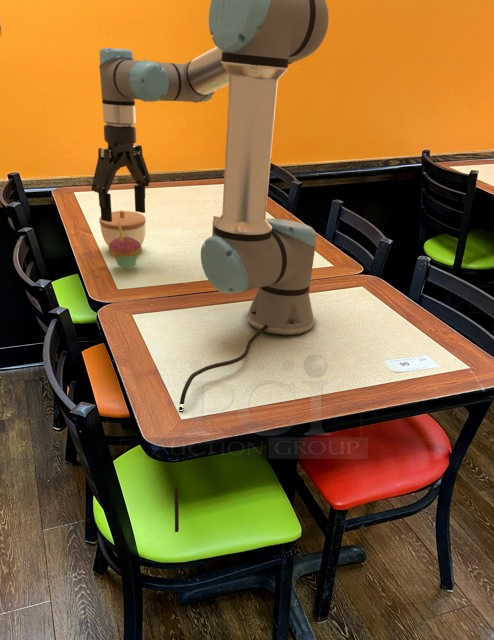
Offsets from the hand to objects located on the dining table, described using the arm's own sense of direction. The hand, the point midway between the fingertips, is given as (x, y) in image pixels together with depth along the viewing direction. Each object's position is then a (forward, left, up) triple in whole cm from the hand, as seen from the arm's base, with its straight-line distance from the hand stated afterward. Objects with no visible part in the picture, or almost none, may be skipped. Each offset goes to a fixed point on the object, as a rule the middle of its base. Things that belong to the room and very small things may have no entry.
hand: (124, 216), depth 146 cm
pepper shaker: (+32, -10, -13) cm, 36 cm away
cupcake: (+1, 0, -13) cm, 13 cm away
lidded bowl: (+11, +9, -13) cm, 19 cm away
